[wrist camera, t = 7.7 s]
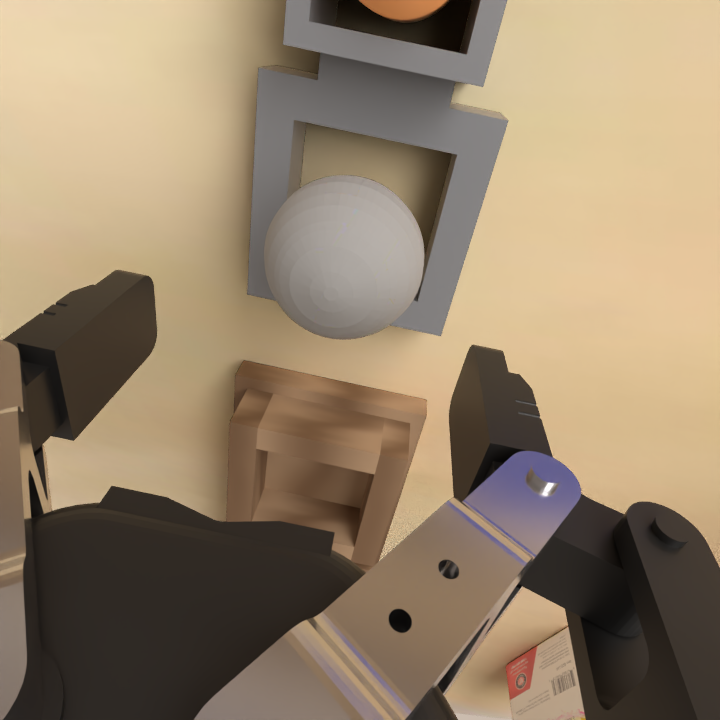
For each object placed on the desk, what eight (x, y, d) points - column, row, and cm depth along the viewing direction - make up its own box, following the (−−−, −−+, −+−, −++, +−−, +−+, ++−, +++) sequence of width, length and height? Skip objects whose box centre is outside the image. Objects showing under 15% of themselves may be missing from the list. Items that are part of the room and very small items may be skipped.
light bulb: (316, 258, 25) (258, 368, 16) (303, 142, 22) (224, 203, 13) (425, 257, 24) (422, 371, 16) (427, 136, 21) (424, 198, 13)
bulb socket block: (576, -138, 16) (626, -201, 12) (440, 312, 25) (441, 364, 21) (293, -197, 16) (245, -280, 12) (262, 273, 25) (229, 318, 21)
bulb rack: (426, 399, 29) (426, 453, 25) (363, 595, 40) (356, 652, 36) (243, 360, 29) (215, 408, 25) (233, 566, 40) (213, 620, 37)
